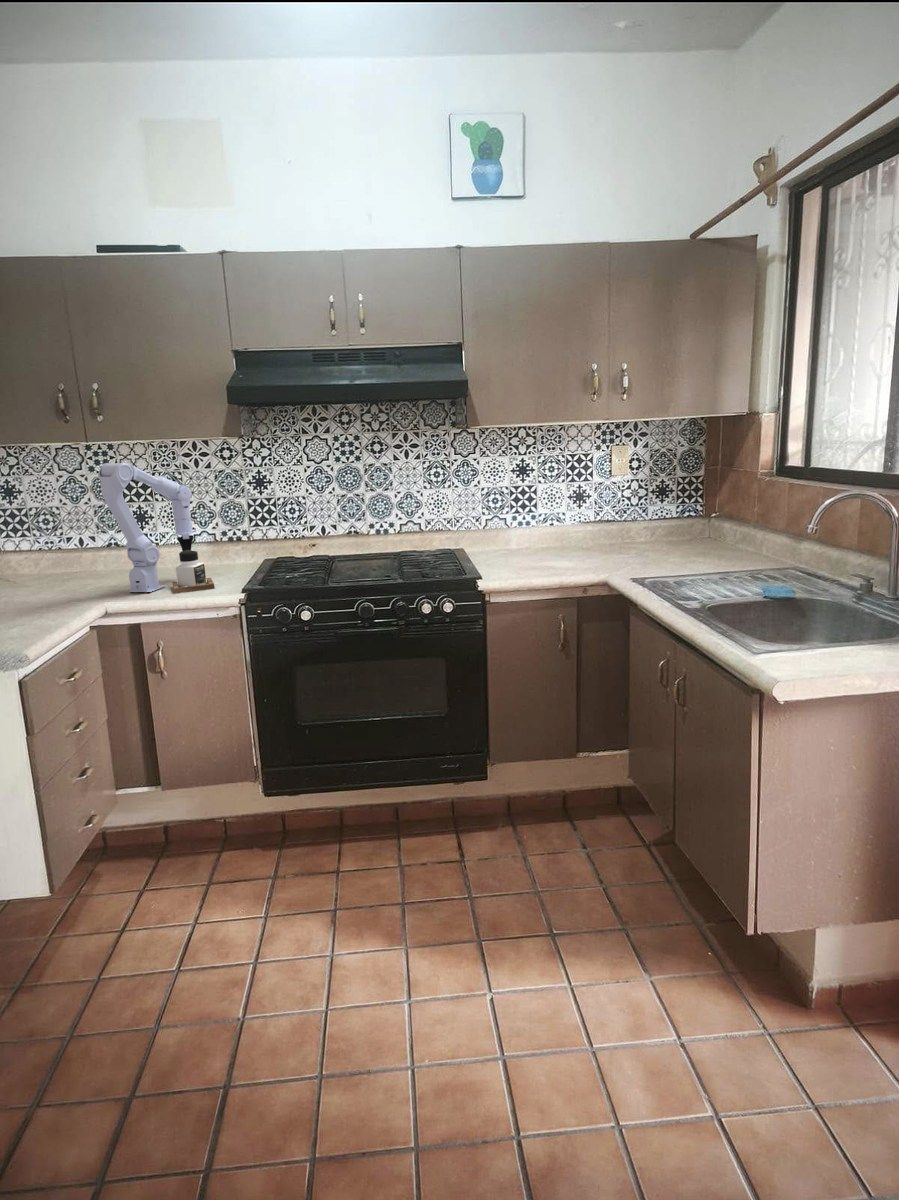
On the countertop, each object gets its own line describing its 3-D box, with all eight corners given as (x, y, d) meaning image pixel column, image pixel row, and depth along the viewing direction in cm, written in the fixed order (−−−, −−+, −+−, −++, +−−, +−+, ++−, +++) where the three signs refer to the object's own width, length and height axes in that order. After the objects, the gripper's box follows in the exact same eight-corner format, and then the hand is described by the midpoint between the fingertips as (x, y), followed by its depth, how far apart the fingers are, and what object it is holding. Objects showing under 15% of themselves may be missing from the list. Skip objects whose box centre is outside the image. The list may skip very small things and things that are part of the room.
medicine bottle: (196, 586, 266) (192, 552, 263) (177, 586, 268) (173, 552, 265) (206, 582, 273) (202, 548, 270) (188, 582, 274) (184, 549, 271)
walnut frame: (172, 586, 269) (172, 582, 268) (211, 581, 273) (210, 577, 273) (174, 593, 257) (173, 589, 257) (214, 588, 262) (214, 584, 262)
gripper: (195, 519, 269) (200, 558, 272) (192, 515, 282) (197, 552, 285) (174, 521, 267) (179, 560, 270) (172, 517, 280) (177, 554, 283)
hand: (187, 556), depth 278 cm, fingers closed
